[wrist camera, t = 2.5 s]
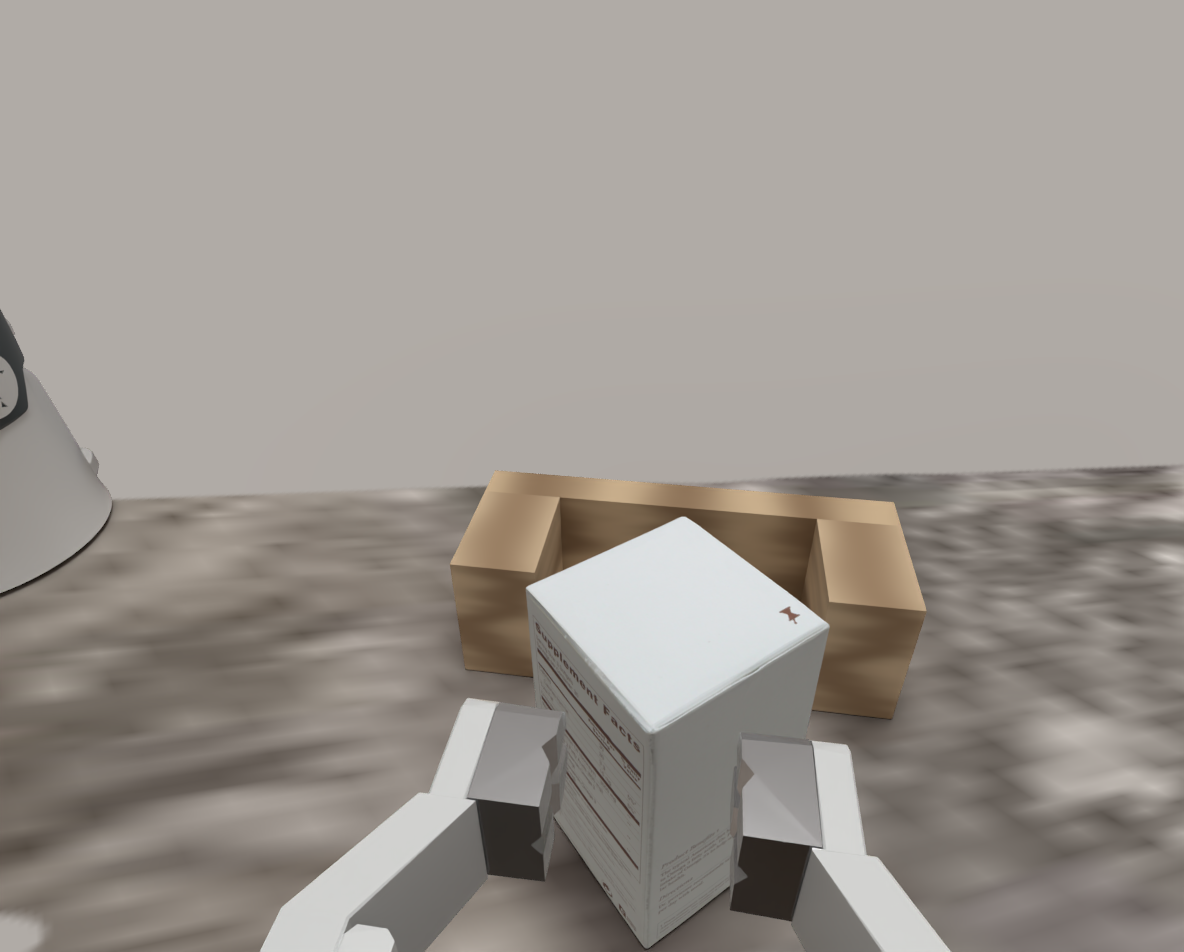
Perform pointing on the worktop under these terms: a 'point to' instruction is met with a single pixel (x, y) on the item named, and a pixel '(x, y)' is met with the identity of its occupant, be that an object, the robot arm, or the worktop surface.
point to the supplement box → (665, 707)
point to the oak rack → (738, 520)
